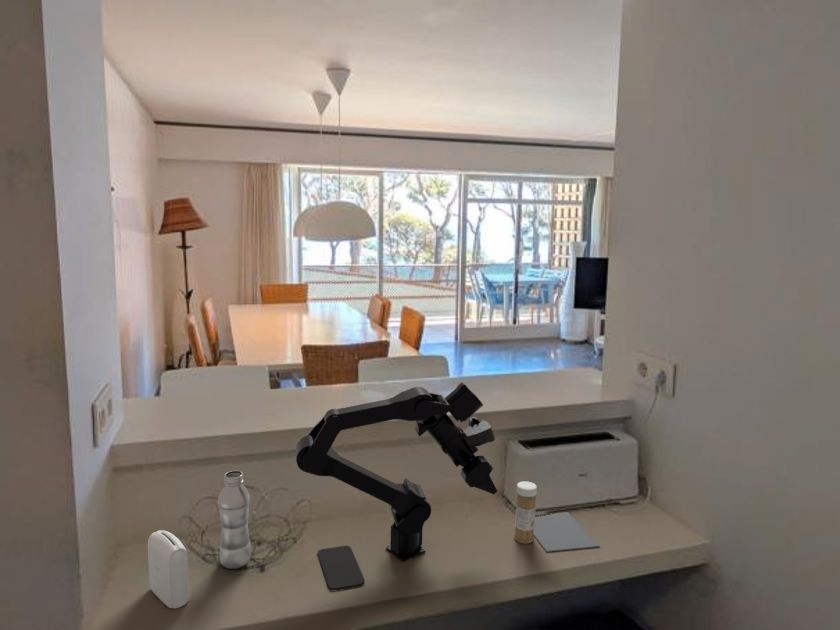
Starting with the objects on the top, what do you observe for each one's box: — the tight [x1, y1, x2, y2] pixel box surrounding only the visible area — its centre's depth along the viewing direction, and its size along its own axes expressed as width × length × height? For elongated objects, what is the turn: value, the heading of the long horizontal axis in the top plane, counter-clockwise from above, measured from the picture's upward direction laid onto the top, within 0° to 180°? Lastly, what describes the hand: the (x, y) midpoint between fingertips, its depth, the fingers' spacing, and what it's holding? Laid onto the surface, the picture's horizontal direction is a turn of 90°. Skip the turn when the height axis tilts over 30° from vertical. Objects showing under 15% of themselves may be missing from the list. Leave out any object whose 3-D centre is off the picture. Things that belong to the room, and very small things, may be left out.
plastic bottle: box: [217, 470, 252, 570], centre depth 123 cm, size 6×7×20 cm
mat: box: [533, 511, 600, 553], centre depth 141 cm, size 13×16×1 cm
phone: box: [317, 545, 366, 591], centre depth 124 cm, size 7×1×15 cm
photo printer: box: [147, 529, 190, 610], centre depth 113 cm, size 10×4×12 cm, turn 47°
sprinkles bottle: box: [513, 480, 538, 545], centre depth 136 cm, size 5×5×14 cm
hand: (488, 483), depth 133 cm, fingers open, 9 cm apart
